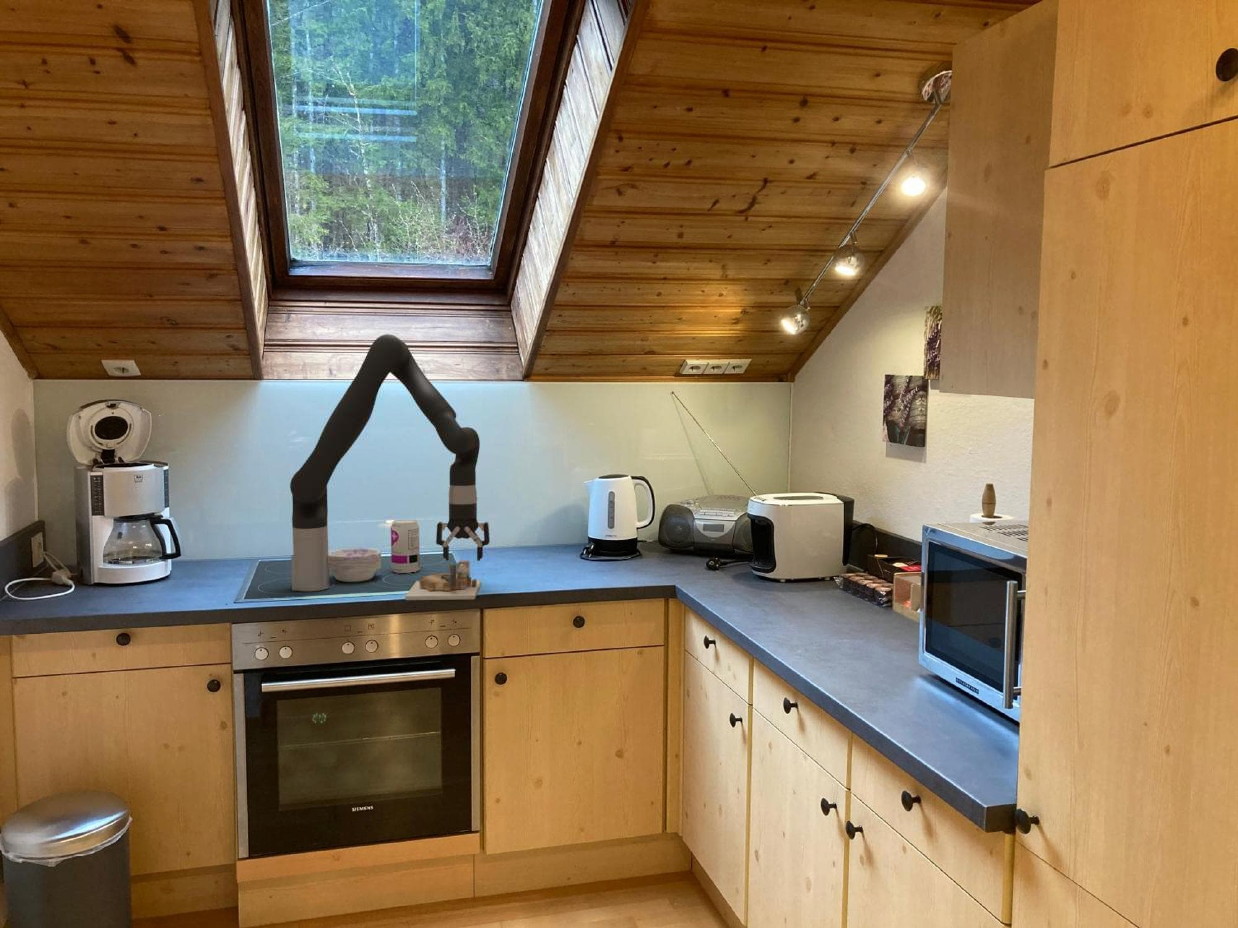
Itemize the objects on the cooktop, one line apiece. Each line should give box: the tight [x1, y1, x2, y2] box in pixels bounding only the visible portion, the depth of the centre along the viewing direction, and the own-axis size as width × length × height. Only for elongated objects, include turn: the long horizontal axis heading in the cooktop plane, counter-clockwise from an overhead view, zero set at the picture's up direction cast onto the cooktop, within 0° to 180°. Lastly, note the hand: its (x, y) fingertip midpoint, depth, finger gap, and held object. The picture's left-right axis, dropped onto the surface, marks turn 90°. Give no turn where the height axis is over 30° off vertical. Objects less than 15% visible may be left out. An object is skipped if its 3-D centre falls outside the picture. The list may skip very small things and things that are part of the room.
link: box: [456, 560, 471, 579], centre depth 280 cm, size 3×6×4 cm, turn 2°
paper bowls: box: [328, 548, 382, 583], centre depth 294 cm, size 15×15×8 cm
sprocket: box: [418, 564, 472, 591], centre depth 279 cm, size 14×16×7 cm
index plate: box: [404, 578, 482, 601], centre depth 278 cm, size 18×19×3 cm
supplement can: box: [390, 519, 421, 574], centre depth 304 cm, size 8×8×15 cm
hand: (463, 560), depth 280 cm, fingers open, 8 cm apart
